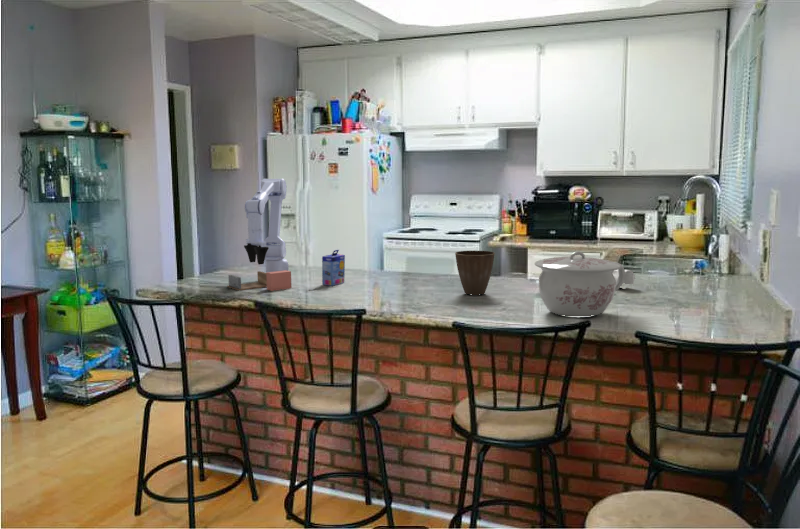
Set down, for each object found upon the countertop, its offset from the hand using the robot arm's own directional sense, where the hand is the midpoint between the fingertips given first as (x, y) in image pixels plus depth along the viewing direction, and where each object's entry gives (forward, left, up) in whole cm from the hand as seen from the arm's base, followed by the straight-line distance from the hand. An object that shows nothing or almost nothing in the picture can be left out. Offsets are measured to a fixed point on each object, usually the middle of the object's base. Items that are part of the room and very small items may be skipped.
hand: (256, 263), depth 261 cm
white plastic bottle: (-110, +91, -11) cm, 143 cm away
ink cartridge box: (-29, +12, -11) cm, 33 cm away
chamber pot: (-59, +112, -11) cm, 127 cm away
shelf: (+1, -5, -10) cm, 12 cm away
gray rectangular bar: (+7, -5, -10) cm, 14 cm away
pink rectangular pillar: (-6, +7, -10) cm, 14 cm away
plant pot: (-58, +66, -10) cm, 88 cm away
